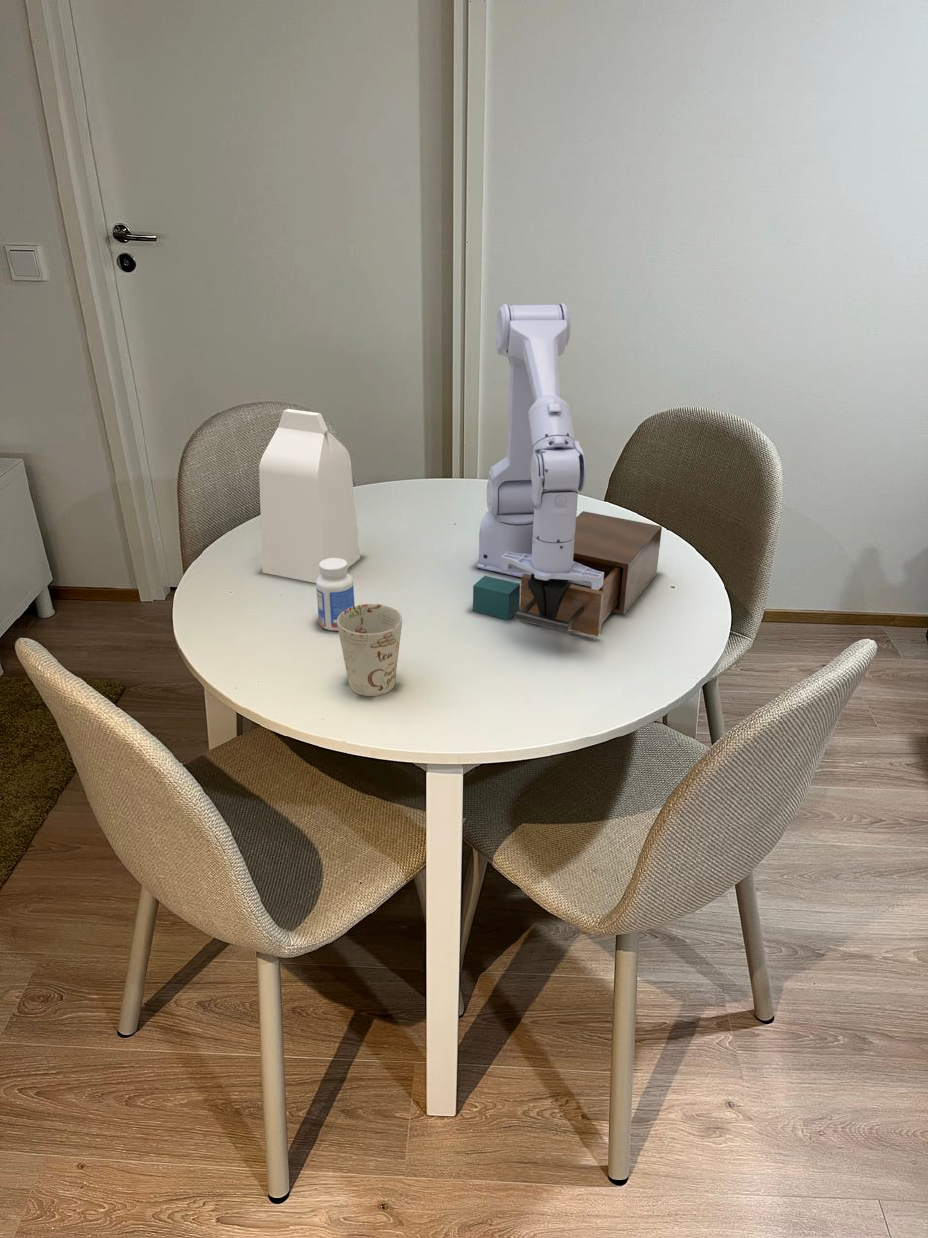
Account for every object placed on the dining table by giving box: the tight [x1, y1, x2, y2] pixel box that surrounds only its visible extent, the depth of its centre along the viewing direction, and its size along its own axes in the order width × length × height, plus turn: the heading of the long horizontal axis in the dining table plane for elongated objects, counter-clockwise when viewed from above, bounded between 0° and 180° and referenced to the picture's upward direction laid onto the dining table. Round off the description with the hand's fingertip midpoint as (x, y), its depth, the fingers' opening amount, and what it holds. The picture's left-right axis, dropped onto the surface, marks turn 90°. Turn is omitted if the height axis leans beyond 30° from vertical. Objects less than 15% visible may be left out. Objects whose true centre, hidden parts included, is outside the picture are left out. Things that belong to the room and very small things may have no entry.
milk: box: [258, 408, 361, 584], centre depth 157 cm, size 12×12×26 cm
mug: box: [337, 603, 403, 697], centre depth 130 cm, size 8×13×10 cm, turn 27°
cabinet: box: [573, 510, 663, 616], centre depth 156 cm, size 17×14×9 cm
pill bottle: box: [315, 558, 356, 632], centre depth 143 cm, size 6×5×10 cm
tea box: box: [472, 575, 521, 621], centre depth 149 cm, size 6×4×4 cm, turn 63°
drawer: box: [514, 557, 623, 637], centre depth 145 cm, size 22×12×7 cm, turn 153°
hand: (548, 623), depth 139 cm, fingers closed, pressing on drawer
